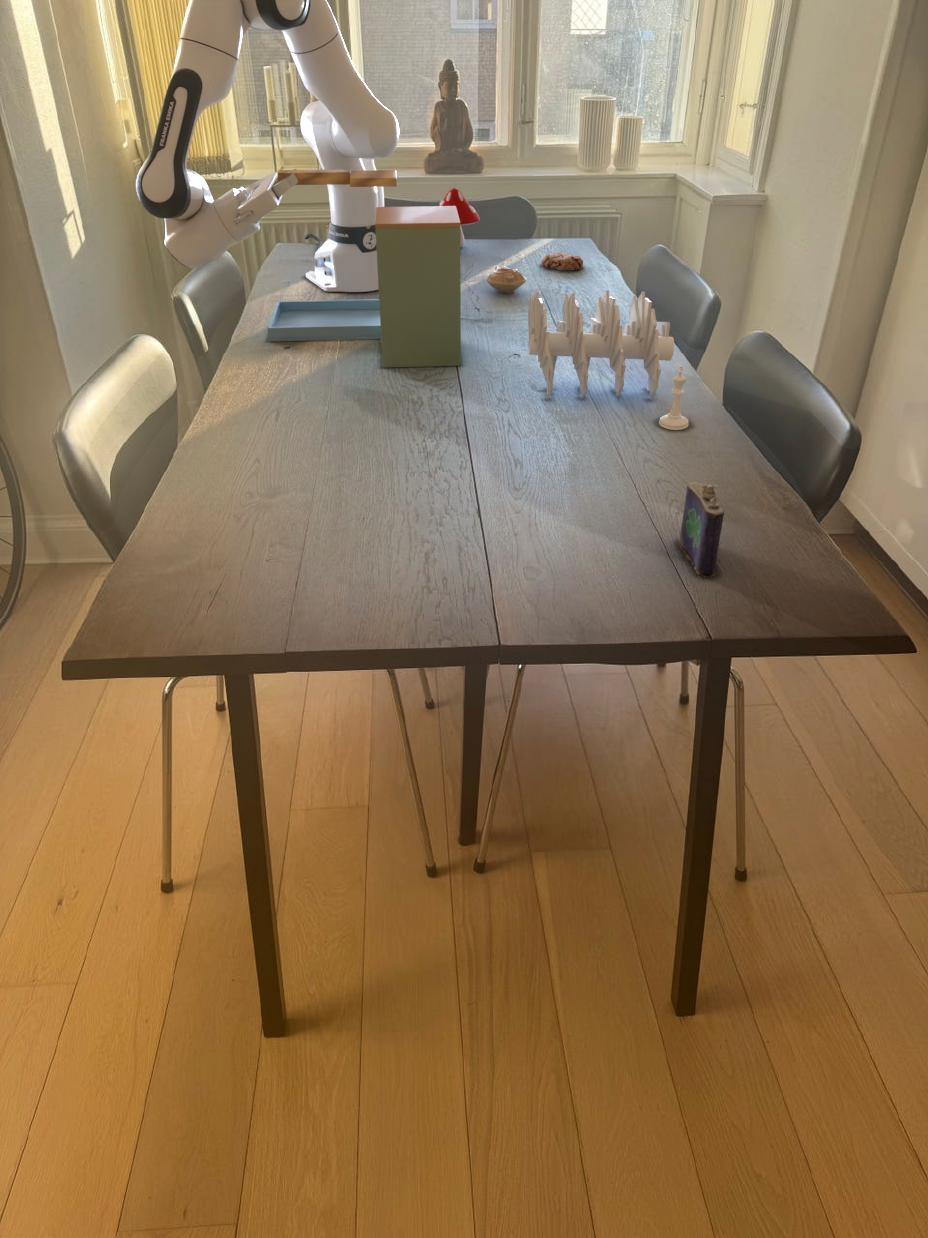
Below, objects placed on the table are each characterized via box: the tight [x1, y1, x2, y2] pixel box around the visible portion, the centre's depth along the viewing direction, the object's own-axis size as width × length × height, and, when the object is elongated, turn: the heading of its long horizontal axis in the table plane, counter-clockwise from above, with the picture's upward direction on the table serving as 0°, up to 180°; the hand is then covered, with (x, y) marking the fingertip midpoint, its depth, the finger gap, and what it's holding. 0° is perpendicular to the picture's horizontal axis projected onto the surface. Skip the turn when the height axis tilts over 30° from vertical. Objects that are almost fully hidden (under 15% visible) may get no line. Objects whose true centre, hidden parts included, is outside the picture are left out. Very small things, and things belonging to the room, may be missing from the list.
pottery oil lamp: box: [485, 265, 527, 294], centre depth 223 cm, size 9×12×7 cm
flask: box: [678, 481, 725, 578], centre depth 120 cm, size 9×3×11 cm, turn 8°
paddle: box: [276, 169, 398, 188], centre depth 185 cm, size 23×8×2 cm, turn 94°
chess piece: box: [658, 365, 690, 431], centre depth 156 cm, size 5×5×10 cm
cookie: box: [540, 252, 584, 271], centre depth 240 cm, size 10×11×3 cm
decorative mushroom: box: [437, 187, 481, 248], centre depth 253 cm, size 14×14×15 cm
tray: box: [267, 298, 381, 342], centre depth 202 cm, size 32×19×3 cm, turn 94°
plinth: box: [375, 205, 462, 369], centre depth 180 cm, size 15×14×26 cm
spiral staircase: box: [527, 290, 675, 399], centre depth 166 cm, size 18×18×25 cm
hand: (297, 174), depth 185 cm, fingers closed on paddle, 3 cm apart
